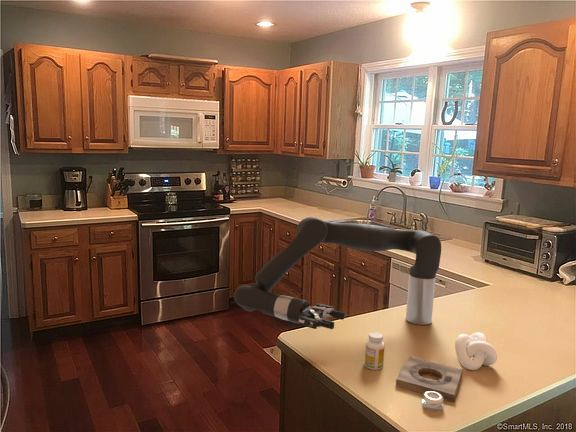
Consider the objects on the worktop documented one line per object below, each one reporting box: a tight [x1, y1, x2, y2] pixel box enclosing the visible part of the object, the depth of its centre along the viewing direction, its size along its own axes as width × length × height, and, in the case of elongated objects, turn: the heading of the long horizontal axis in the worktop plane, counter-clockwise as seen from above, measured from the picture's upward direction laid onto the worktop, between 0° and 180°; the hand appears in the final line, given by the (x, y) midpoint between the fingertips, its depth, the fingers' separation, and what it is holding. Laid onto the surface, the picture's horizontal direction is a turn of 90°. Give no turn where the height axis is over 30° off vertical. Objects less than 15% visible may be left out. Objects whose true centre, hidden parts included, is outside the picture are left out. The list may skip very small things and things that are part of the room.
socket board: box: [395, 355, 463, 403], centre depth 127 cm, size 15×15×2 cm
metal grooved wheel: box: [421, 391, 445, 413], centre depth 115 cm, size 5×3×5 cm
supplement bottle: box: [364, 331, 386, 371], centre depth 133 cm, size 5×5×10 cm
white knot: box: [454, 331, 498, 371], centre depth 136 cm, size 11×12×9 cm
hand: (339, 320), depth 137 cm, fingers open, 8 cm apart
